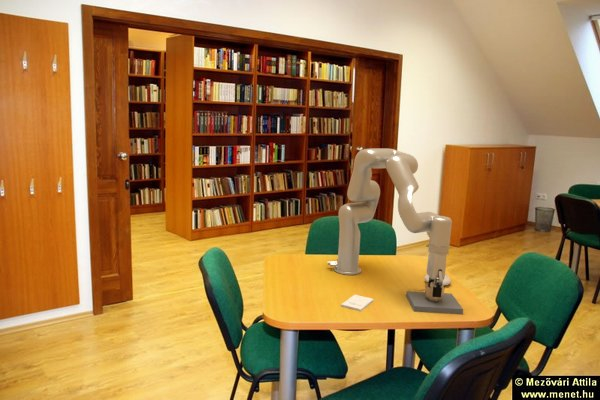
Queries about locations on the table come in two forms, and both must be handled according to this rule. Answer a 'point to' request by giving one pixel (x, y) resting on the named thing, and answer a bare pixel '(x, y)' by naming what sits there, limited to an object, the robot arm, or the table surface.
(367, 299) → the external hard drive
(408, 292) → the piston stand
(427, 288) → the bronze ring
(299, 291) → the table surface
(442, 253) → the robot arm
